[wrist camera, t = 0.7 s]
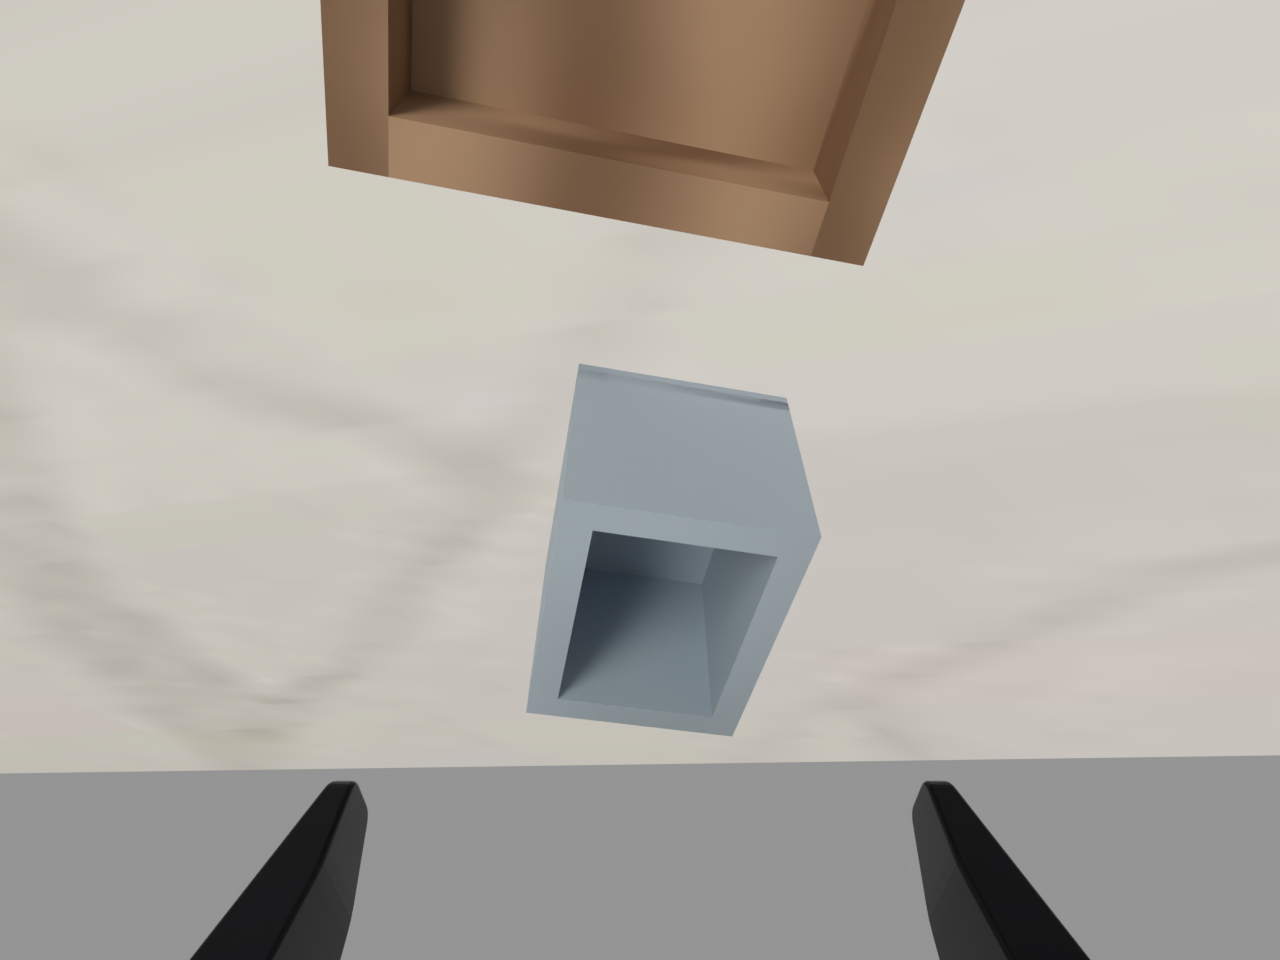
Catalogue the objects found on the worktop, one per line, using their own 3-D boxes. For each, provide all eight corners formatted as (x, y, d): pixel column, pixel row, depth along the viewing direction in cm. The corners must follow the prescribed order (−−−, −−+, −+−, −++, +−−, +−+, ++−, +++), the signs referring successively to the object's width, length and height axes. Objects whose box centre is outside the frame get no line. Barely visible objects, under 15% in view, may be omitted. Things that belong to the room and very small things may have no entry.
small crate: (785, 395, 23) (821, 536, 19) (717, 586, 28) (732, 736, 24) (579, 361, 23) (562, 499, 18) (546, 563, 28) (526, 712, 23)
